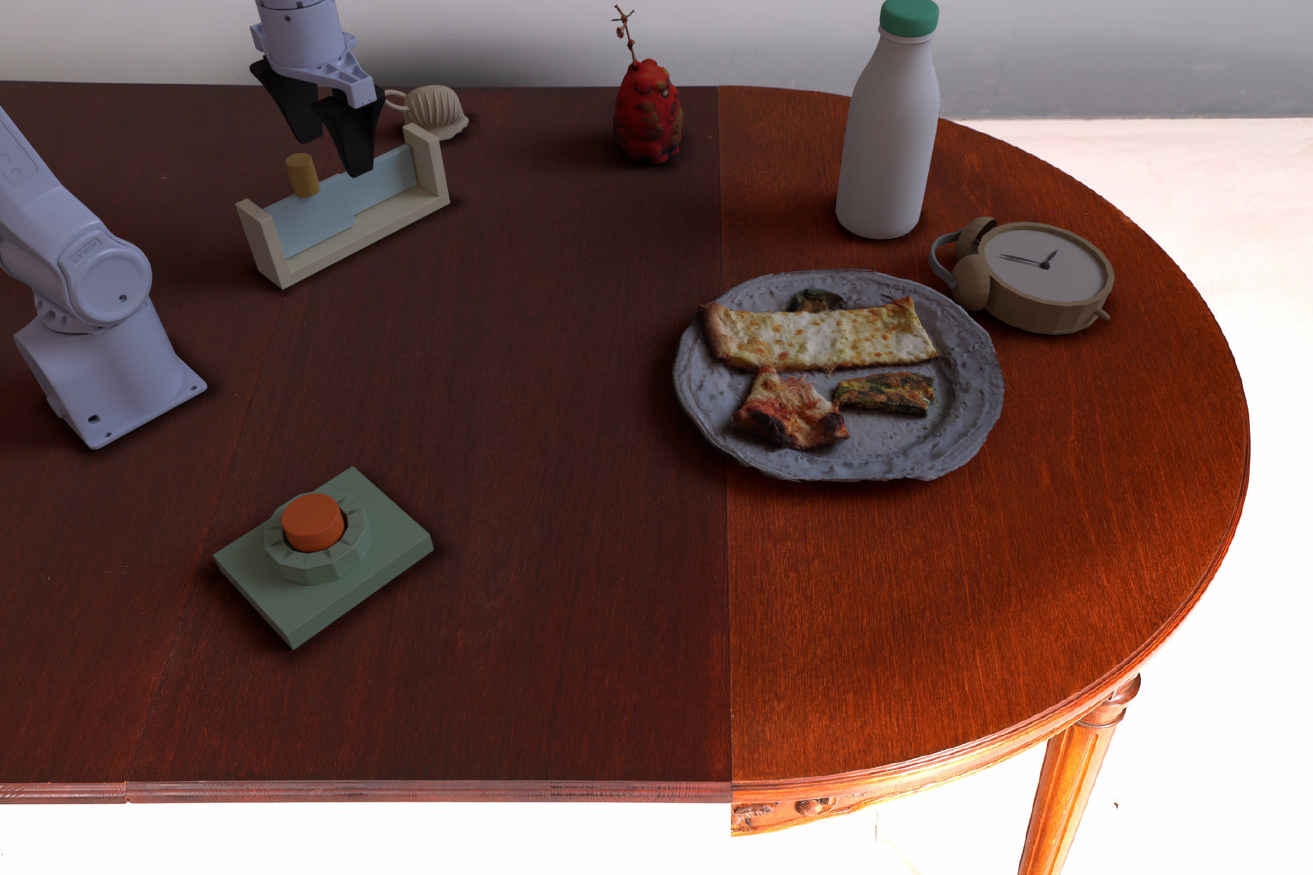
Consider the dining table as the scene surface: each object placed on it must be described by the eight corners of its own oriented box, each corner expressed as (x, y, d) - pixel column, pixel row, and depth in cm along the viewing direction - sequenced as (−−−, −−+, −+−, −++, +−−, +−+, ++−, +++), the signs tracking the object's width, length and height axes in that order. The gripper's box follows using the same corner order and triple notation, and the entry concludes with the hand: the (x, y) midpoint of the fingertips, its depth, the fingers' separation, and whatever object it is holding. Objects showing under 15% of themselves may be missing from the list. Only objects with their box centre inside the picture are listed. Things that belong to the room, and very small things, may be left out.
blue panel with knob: (287, 264, 91) (261, 184, 85) (273, 254, 92) (247, 174, 86) (360, 227, 95) (340, 148, 89) (346, 217, 96) (325, 139, 90)
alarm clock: (1119, 320, 82) (935, 263, 83) (1090, 364, 86) (914, 309, 87) (1117, 239, 90) (948, 187, 91) (1090, 283, 93) (928, 232, 94)
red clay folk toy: (680, 171, 103) (680, 22, 93) (609, 169, 104) (602, 21, 93) (684, 131, 109) (685, -14, 98) (617, 129, 109) (611, -15, 98)
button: (308, 562, 66) (300, 545, 65) (277, 531, 68) (270, 514, 67) (355, 530, 68) (349, 513, 67) (324, 501, 70) (318, 484, 69)
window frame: (282, 290, 91) (259, 222, 86) (258, 271, 93) (234, 203, 88) (450, 203, 100) (438, 137, 95) (425, 187, 102) (412, 122, 97)
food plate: (672, 498, 74) (672, 465, 71) (671, 293, 90) (671, 259, 87) (1027, 498, 73) (1040, 464, 71) (963, 292, 90) (971, 258, 87)
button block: (293, 650, 66) (278, 618, 63) (220, 570, 70) (203, 537, 67) (434, 550, 71) (425, 517, 68) (357, 481, 75) (346, 448, 73)
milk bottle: (924, 242, 95) (968, 26, 80) (838, 242, 95) (867, 27, 80) (911, 194, 100) (951, -16, 86) (830, 194, 100) (856, -15, 86)
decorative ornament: (472, 137, 108) (465, 89, 104) (390, 148, 107) (380, 100, 103) (467, 118, 111) (460, 71, 107) (388, 128, 110) (378, 80, 106)
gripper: (394, 6, 77) (425, 168, 87) (288, -48, 84) (328, 108, 94) (311, 37, 73) (353, 203, 83) (208, -21, 81) (258, 138, 90)
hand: (335, 155), depth 88 cm, fingers open, 7 cm apart
